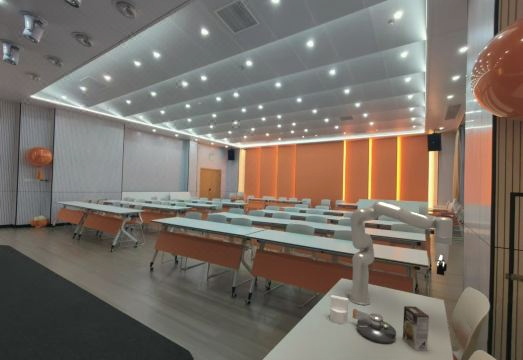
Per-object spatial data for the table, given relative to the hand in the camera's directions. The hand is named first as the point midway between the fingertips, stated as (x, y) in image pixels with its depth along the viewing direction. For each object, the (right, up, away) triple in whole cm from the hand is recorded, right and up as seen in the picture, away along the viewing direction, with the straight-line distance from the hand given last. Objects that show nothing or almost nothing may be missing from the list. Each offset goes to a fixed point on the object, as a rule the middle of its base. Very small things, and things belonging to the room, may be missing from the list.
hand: (441, 272), depth 135 cm
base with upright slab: (-54, -28, +4) cm, 61 cm away
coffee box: (-24, -29, -15) cm, 40 cm away
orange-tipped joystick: (-41, -25, -4) cm, 48 cm away
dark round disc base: (-38, -28, -7) cm, 48 cm away
